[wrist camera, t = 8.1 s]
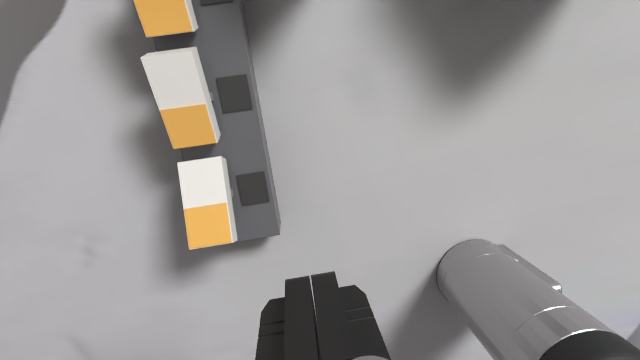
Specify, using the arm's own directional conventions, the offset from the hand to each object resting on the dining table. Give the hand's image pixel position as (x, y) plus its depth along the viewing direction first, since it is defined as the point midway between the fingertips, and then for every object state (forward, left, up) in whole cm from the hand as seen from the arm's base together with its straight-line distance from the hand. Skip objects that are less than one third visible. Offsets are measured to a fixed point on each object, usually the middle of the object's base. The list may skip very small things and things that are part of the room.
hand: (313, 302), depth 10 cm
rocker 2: (+9, -7, -22) cm, 25 cm away
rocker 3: (+9, +3, -23) cm, 25 cm away
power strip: (+7, -7, -29) cm, 31 cm away
